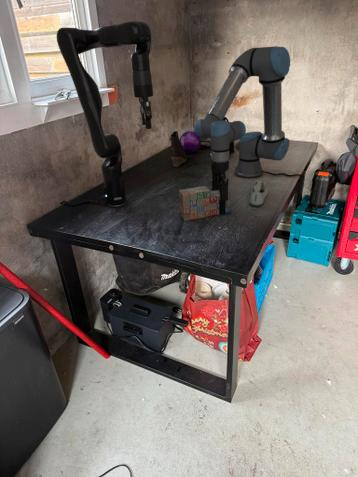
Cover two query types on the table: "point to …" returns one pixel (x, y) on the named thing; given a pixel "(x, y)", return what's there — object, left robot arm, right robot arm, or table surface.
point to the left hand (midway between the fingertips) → (146, 126)
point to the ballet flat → (258, 193)
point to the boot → (176, 150)
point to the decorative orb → (190, 142)
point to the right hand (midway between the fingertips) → (219, 210)
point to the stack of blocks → (200, 203)
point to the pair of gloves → (205, 142)
